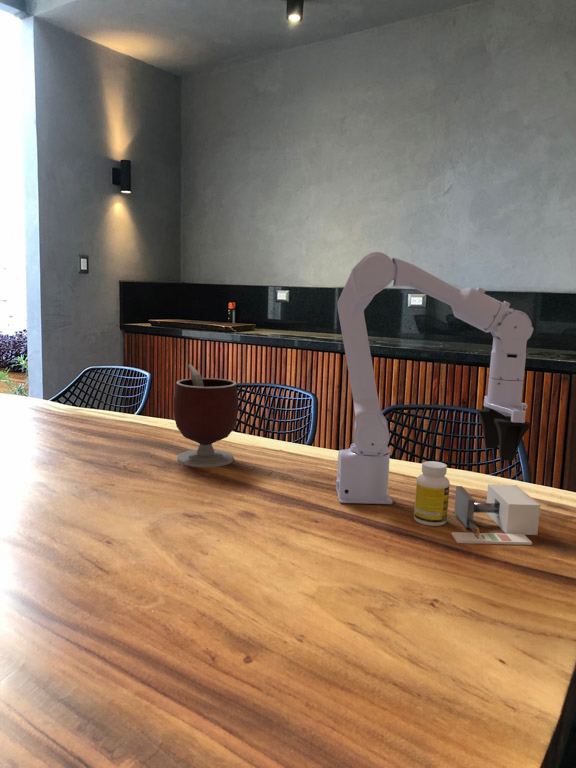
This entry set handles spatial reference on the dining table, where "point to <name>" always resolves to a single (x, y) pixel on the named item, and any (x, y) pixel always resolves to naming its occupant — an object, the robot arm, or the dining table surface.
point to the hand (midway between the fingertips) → (498, 453)
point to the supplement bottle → (432, 494)
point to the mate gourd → (205, 417)
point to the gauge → (507, 517)
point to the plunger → (471, 508)
